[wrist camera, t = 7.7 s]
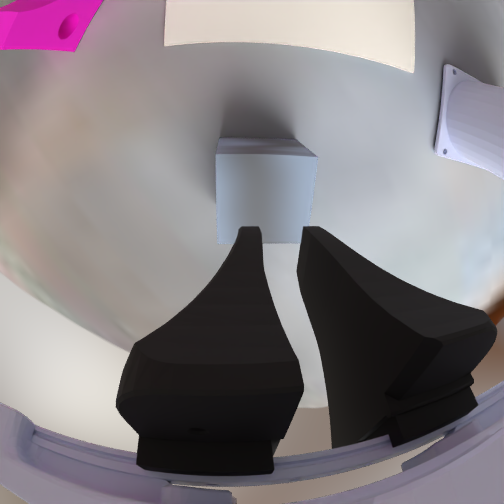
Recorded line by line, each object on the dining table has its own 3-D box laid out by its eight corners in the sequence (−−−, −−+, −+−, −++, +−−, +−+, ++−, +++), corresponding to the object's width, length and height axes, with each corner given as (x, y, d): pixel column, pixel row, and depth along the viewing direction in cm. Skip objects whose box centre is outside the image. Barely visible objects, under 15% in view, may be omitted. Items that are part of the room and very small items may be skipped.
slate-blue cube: (295, 139, 17) (317, 157, 13) (289, 207, 20) (306, 243, 16) (219, 137, 17) (215, 154, 12) (220, 206, 19) (217, 243, 15)
